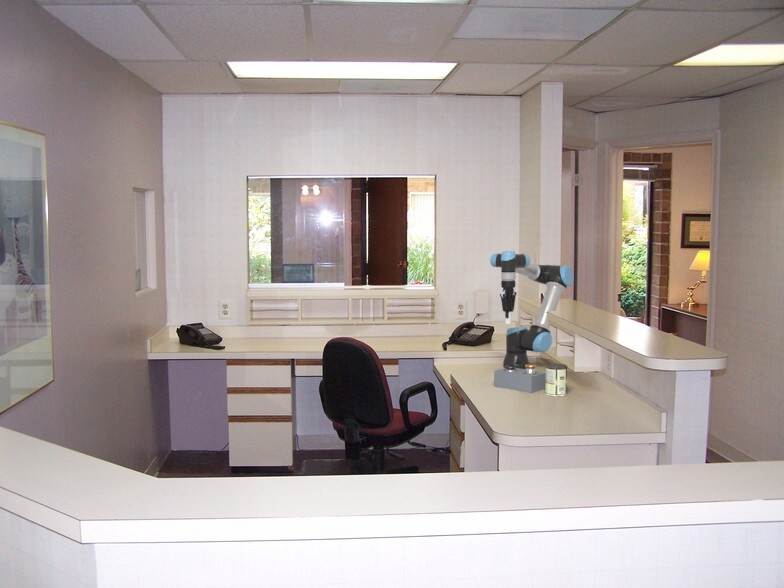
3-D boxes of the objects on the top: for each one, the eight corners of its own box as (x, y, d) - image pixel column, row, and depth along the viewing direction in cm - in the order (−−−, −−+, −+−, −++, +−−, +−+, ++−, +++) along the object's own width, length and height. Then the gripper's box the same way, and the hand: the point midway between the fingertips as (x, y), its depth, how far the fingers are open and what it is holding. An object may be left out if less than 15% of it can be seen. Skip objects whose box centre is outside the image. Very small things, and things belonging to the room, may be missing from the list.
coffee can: (551, 390, 351) (552, 362, 350) (570, 394, 344) (571, 365, 343) (540, 394, 343) (541, 365, 342) (559, 397, 336) (560, 368, 335)
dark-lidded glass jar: (509, 381, 367) (509, 364, 366) (517, 382, 363) (517, 366, 362) (503, 382, 363) (503, 366, 362) (511, 384, 359) (511, 367, 358)
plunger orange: (528, 380, 358) (529, 363, 357) (537, 381, 354) (538, 364, 354) (523, 381, 354) (523, 364, 354) (532, 383, 351) (532, 366, 350)
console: (510, 382, 371) (510, 367, 371) (546, 388, 356) (546, 372, 356) (494, 386, 361) (494, 370, 361) (531, 393, 346) (531, 376, 346)
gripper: (508, 278, 390) (509, 321, 392) (495, 280, 380) (495, 324, 382) (520, 279, 385) (520, 322, 387) (507, 281, 375) (507, 325, 377)
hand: (508, 323), depth 385 cm, fingers closed
